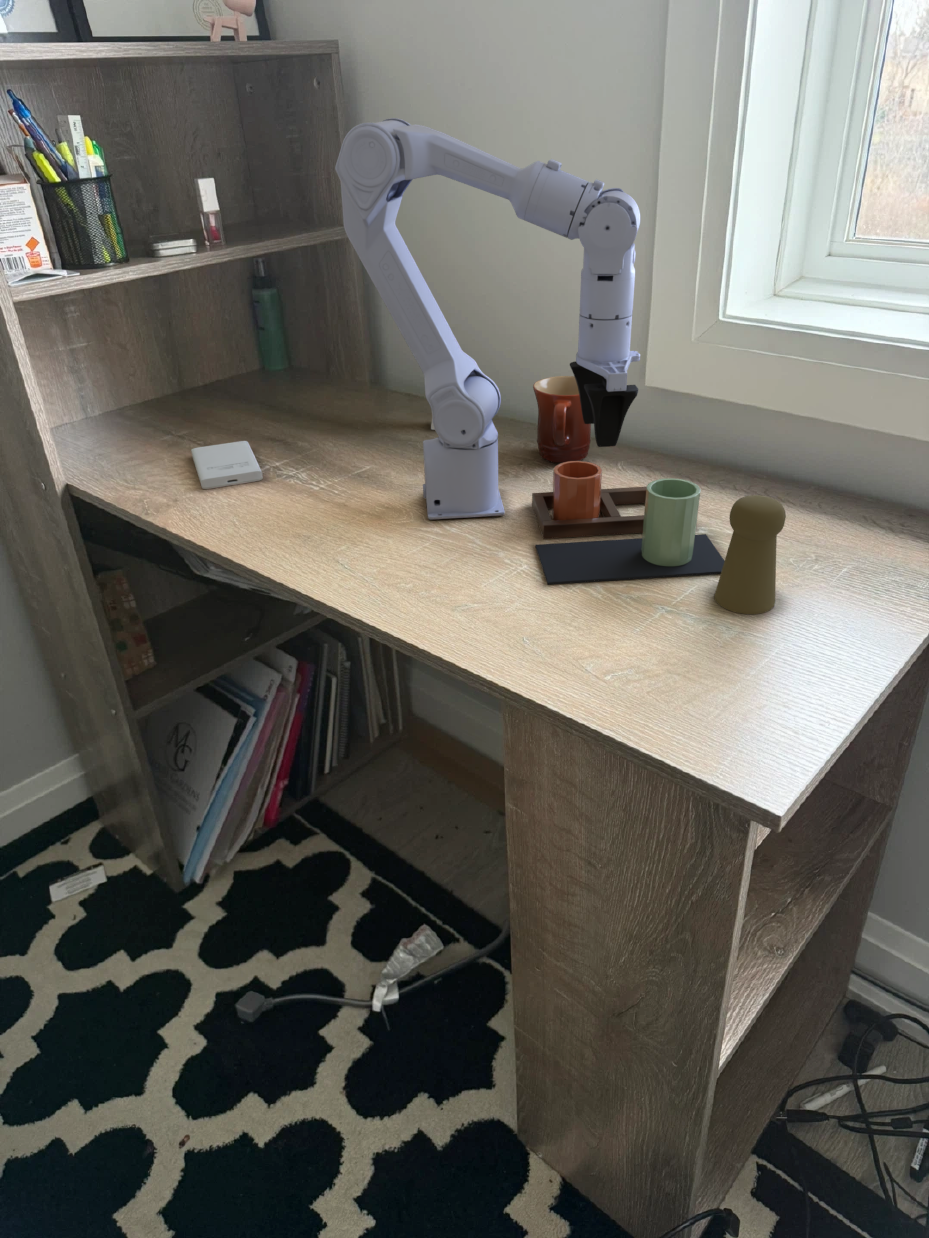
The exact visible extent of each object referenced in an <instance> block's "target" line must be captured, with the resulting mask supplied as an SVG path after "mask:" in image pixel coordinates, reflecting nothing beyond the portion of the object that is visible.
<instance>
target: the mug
mask: <svg viewBox="0 0 929 1238" xmlns="http://www.w3.org/2000/svg"><path fill="white" fill-rule="evenodd" d="M532 388H533V392H534V395H535V399H536V403H537V404H536V405H537V431H536V432H537V434H536V435H537V438H536V444H537V450H538V455H539V456H540V458H542V459H543V460H544V461H546V462H548V463H550V464H555V465H558V464H560V463H564V462H568V461H583V460H584V459H585V458H587V456H588V455H589V450H590V448H591V447H590V446H591V442H592V439H591V433H592V424H585V423H584V420H583V416H582V410H581V403H580V396H579V391H578V386H577V383H576V379H575V376H574V375H558V376H555V375H554V376H549V377H545V378H541V379H539V380H537V381H535V382H533V385H532Z"/></svg>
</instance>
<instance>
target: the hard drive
mask: <svg viewBox="0 0 929 1238" xmlns="http://www.w3.org/2000/svg"><path fill="white" fill-rule="evenodd" d="M190 451H191V452H190V453H191V456H192V457H191V458H192V460H193V464H194V466H195V469H196V474H197V475H198V480H199V482H200V486H201V489H202V490H210V489H216V488H223V487H229V486H235V485H242V484H248V483H253V482H255V483H256V482H260V481H262V480H263V479H264V478H263V471H262V469H261V467H260V465H259V462H258V461H257V458H256V456H255V454H254V452H253V449H252V447H251V445H250V443H249V441H247V440H240V441H233V442H227V443H219V444H212V445H205V446H199V447H194V448H191V450H190Z"/></svg>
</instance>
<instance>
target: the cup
mask: <svg viewBox="0 0 929 1238" xmlns="http://www.w3.org/2000/svg"><path fill="white" fill-rule="evenodd" d="M701 489H702V488H701V487H700V486H699V485H698V484H696V483H695V482H692V481H691V480H687V479H683V478H674V477H669V478H659V479H656V480H655V479H654V480H652V481H650V482H648V484H647V488H646V500H645V503H644V511H643V515H644V523H643V533H642V534H641V535H642V537H641V538H642V547H641V550H642V551H641V554H642V557H643V558H644V559H645V560H646V561H648V562H650V563H653V564H656V565H660V566H680V565H684V564H686V563H688V562H690V561H691V559H692V557H693V550H694V542H695V535H696V531H697V524H698V516H699V508H700V499H701Z"/></svg>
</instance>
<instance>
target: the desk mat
mask: <svg viewBox="0 0 929 1238" xmlns="http://www.w3.org/2000/svg"><path fill="white" fill-rule="evenodd" d="M641 547H642V537H640V538H622V539H621V538H620V539H607V540H606V539H605V540H588V541H574V542H573V541H572V542H571V541H570V542H556V543H541V544H540V543H539V544H535V550H536V553H537V556H538V559H539V563H540V565H541V568H542V571H543V574H544V577H545V580H546V581H545V582H546V584H547V585H548V586H551V585H566V584H567V585H568V584H582V583H584V584H585V583H598V582H599V583H600V582H614V581H629V580H645V579H659V578H661V579H662V578H676V577H677V578H678V577H695V576H707V575H709V576H710V575H721V571H722V568H723V565H724V561H725V558H723V556H722V555H721V553H720V552H719V550H718V549H717V547H716V546H715V545H714V544H713V542H712V541H711V540H710V538H709V536H708V534H706V533H704V534H703V533H702V534H695V542H694V550H693V557H692V559H691V561H690V562H688V563H686V564H684V565H680V566H660V565H656V564H653V563H650V562H648V561H646V560H645V559H644V558H643V557H642V554H641V551H642V550H641Z"/></svg>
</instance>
